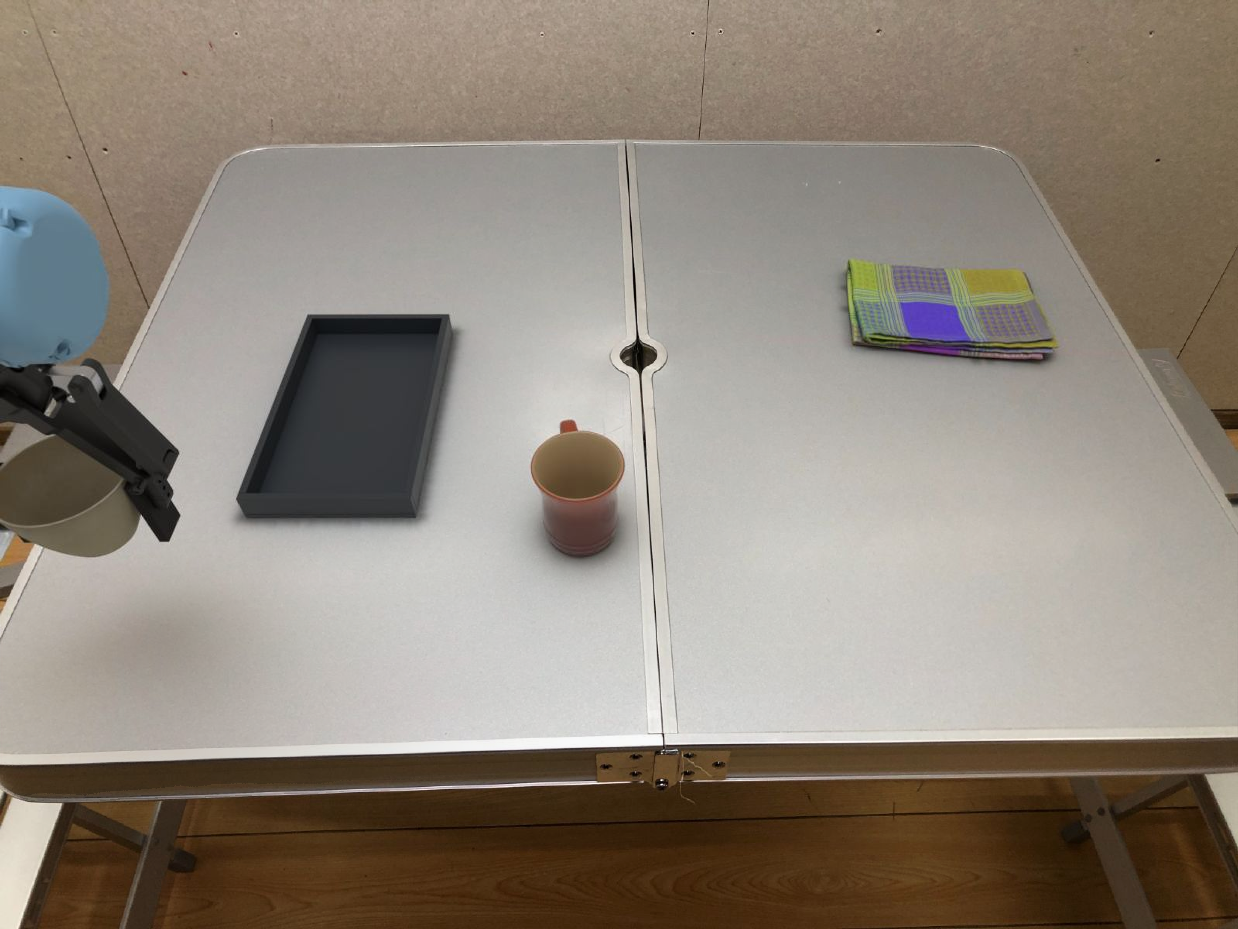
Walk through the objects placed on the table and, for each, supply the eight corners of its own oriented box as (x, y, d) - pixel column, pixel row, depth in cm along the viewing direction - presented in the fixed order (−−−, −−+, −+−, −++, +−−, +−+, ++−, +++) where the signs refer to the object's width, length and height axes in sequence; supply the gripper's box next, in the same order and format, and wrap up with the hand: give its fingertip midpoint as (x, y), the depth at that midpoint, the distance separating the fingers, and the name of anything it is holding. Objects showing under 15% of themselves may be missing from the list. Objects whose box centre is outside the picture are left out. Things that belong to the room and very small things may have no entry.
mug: (631, 559, 83) (633, 493, 75) (544, 573, 82) (536, 507, 74) (610, 470, 91) (609, 401, 83) (530, 481, 90) (522, 413, 82)
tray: (416, 517, 86) (410, 498, 84) (245, 518, 86) (235, 499, 84) (453, 333, 106) (449, 313, 104) (314, 333, 106) (307, 314, 104)
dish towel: (843, 267, 115) (847, 250, 113) (1025, 279, 114) (1033, 262, 111) (852, 350, 104) (856, 332, 102) (1054, 365, 102) (1063, 348, 100)
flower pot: (144, 467, 72) (106, 407, 67) (189, 538, 67) (152, 479, 62) (19, 527, 68) (-32, 467, 62) (57, 607, 63) (5, 550, 57)
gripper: (145, 266, 53) (257, 492, 70) (-212, 268, 53) (-15, 493, 70) (96, 343, 48) (230, 566, 65) (-298, 345, 48) (-63, 568, 65)
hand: (103, 528), depth 67 cm, fingers closed on flower pot, 10 cm apart
